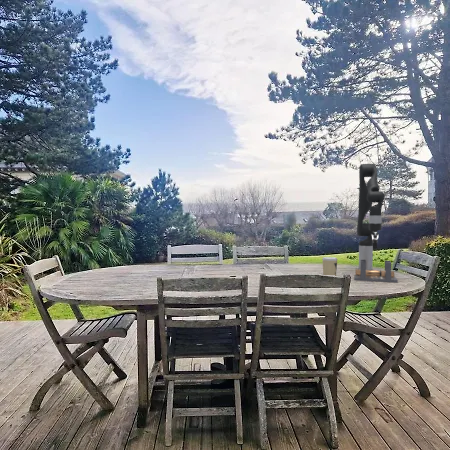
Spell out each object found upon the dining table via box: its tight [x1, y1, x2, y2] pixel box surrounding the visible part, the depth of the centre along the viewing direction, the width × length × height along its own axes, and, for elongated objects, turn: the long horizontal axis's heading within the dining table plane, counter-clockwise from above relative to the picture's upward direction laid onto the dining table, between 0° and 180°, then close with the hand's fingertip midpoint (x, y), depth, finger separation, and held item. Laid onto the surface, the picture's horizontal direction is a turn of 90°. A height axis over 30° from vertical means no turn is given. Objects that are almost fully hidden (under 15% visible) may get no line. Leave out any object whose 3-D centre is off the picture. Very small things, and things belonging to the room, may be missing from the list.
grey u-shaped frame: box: [353, 260, 399, 284], centre depth 230 cm, size 10×24×12 cm, turn 70°
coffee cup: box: [321, 256, 338, 277], centre depth 242 cm, size 9×9×12 cm
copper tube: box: [354, 268, 395, 277], centre depth 242 cm, size 23×4×4 cm, turn 70°
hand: (374, 248), depth 242 cm, fingers open, 8 cm apart
